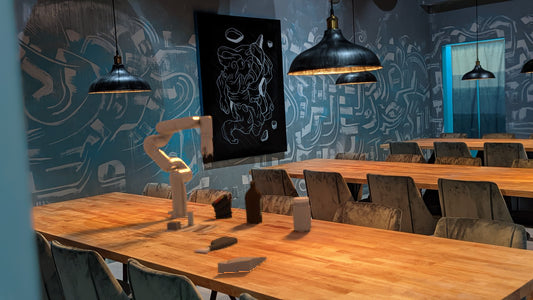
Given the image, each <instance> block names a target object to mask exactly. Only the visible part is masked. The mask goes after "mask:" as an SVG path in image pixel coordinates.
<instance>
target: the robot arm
mask: <svg viewBox="0 0 533 300" xmlns="http://www.w3.org/2000/svg"><path fill="white" fill-rule="evenodd" d="M191 129H200V130H199V131H200V154H201V155H202V156H201V158H202V164H203V165H208V164H209V163H213V162H214V146H213V138H214V137H213V136H214V135H213V134H214V133H213V117H212V116H211V115H205V116H203V115H202V116H200V115H195V116H194V115H193V116H184V117H180V118H173V119H168V120H164V121H163V120H162V121H159V122H158V123H156V125H155V131H156V132H157V133H158V134H152V135H148V136H146V137H145V138H144V140H143V144H142V145H143V150H144V152H145V153H146V155H147V156H148V157H149V158H151V160H153V161H154V162H155V164H156V165H157V166H158V167H159V168H160V169H161V170H162V171H163V172H165V173H169V175H168V179H169V183H170V189H171V203H172V204H171V205H172V210H167V211H168V212H167V214H168V215H170V219H172V220H176V219H188V214H187V212H189V211H188V197H187V196H188V195H187V194H188V193H187V187H186V185H185V183H188V182H190V181H191V180H192V179H193V177H194V176H193V175H194V174H193V171H192V170H191V168H190V167H189V166H188V165H187V164H186V163H185V162H184V161H183V160H182V159H181V158H179V157H177V156H171V157H170V156H168V154H166V153H165V152H164V151H163V150H161V149H160V148H163V147H165V146H166V145H167V144H168V143H169V141H170V140H171V138H172V137H173V135H174V134H175V133H179V132H181V131H184V130H191Z"/></svg>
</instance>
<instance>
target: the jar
mask: <svg viewBox="0 0 533 300" xmlns="http://www.w3.org/2000/svg"><path fill="white" fill-rule="evenodd" d="M293 202H294V203H293V206H292V217H293V218H292V221H293V230H294V231H295V232H297V231H306V232H309V231H311V229H312V215H311V212H312V211H311V205H310V198H309V197H308V196H296V197H294V198H293Z"/></svg>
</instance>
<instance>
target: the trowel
mask: <svg viewBox="0 0 533 300" xmlns="http://www.w3.org/2000/svg"><path fill="white" fill-rule="evenodd" d="M264 260H266V261H267V256H237V257H235V258H231V259H229V260H223V261H219V262H218V263H217V274H218V273H224V272H239V271H250V270H252V269H253V268H255V267H256V266H257V265H259V264H260V263H262V262H263V261H264ZM264 262H265V261H264ZM264 262H263V263H264ZM263 263H262V264H263ZM260 265H261V264H260ZM260 265H259V266H260ZM256 268H257V267H256ZM256 268H255V269H256ZM252 271H253V270H252Z"/></svg>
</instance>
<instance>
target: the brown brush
mask: <svg viewBox="0 0 533 300" xmlns="http://www.w3.org/2000/svg"><path fill="white" fill-rule="evenodd" d="M238 242H239V241H238V238H237V237H234V236H221V237H218V238H215V239H214V240H211V241H210V245H208V246H206V247H204V248H203V247H200V248H198V249H194V252H196V253H202V254H208V253H209V252H210V251H216V250H217V251H218V250H221V248H222V249H225V248H228V247H227V246H229V247H230V245H231V246H233V244H234V245H235V243H236V244H237V243H238ZM224 247H225V248H224Z"/></svg>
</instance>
